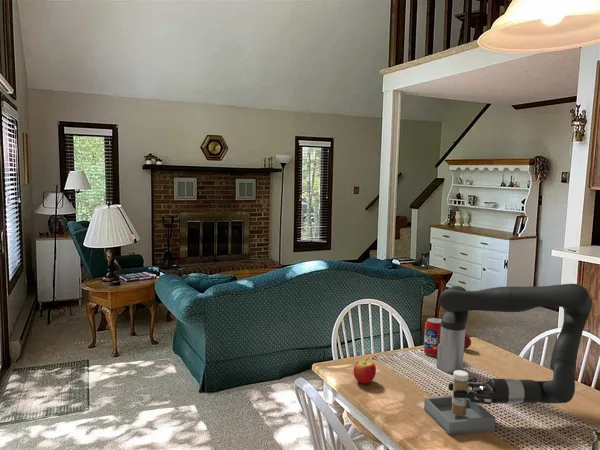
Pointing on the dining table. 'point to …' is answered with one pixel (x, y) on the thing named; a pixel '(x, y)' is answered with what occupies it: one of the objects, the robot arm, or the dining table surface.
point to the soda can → (432, 336)
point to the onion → (467, 341)
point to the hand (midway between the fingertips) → (451, 390)
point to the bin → (454, 424)
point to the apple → (364, 371)
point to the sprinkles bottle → (459, 384)
